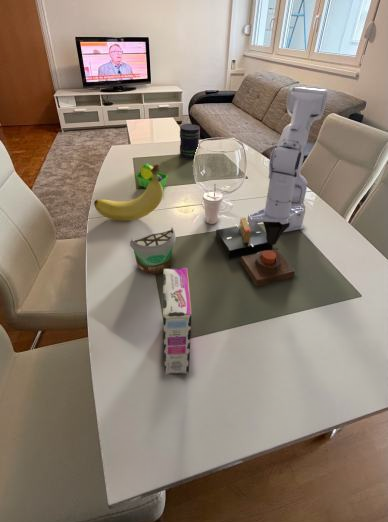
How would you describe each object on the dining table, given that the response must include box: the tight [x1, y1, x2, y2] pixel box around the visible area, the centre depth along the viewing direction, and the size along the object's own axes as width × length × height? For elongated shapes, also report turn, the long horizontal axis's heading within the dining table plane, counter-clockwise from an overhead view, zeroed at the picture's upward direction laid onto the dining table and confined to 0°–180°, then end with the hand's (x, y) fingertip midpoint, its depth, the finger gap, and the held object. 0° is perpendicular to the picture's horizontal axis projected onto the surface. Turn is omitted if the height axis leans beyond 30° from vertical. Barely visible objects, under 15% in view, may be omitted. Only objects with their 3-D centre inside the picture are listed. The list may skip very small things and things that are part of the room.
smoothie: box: [202, 183, 223, 225], centre depth 98 cm, size 6×6×14 cm
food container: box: [129, 227, 177, 275], centre depth 78 cm, size 12×6×10 cm, turn 117°
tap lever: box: [239, 217, 251, 243], centre depth 88 cm, size 7×2×4 cm, turn 3°
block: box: [240, 249, 296, 287], centre depth 80 cm, size 11×9×4 cm
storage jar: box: [179, 123, 201, 160], centre depth 148 cm, size 10×10×15 cm
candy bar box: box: [162, 267, 192, 375], centre depth 57 cm, size 11×5×16 cm, turn 5°
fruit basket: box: [135, 163, 169, 189], centre depth 118 cm, size 11×9×11 cm
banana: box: [93, 164, 164, 221], centre depth 96 cm, size 23×6×20 cm, turn 92°
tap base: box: [215, 223, 274, 259], centre depth 90 cm, size 14×11×3 cm
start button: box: [261, 250, 276, 264], centre depth 79 cm, size 4×4×2 cm
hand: (271, 242), depth 76 cm, fingers closed
